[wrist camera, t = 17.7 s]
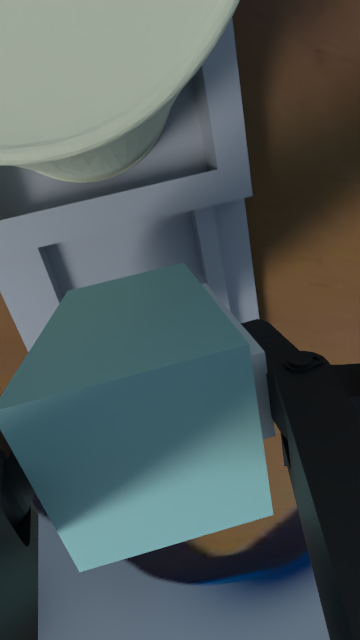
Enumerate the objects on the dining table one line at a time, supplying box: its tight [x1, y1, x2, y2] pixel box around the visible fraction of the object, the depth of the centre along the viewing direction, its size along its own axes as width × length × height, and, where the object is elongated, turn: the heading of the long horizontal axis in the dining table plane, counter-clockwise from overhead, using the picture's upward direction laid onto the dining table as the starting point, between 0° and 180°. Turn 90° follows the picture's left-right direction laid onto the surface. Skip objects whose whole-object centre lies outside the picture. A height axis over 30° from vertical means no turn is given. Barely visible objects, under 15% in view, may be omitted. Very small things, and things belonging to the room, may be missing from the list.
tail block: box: [0, 263, 273, 572], centre depth 11 cm, size 5×5×8 cm
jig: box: [0, 18, 259, 352], centre depth 15 cm, size 23×14×3 cm, turn 12°
